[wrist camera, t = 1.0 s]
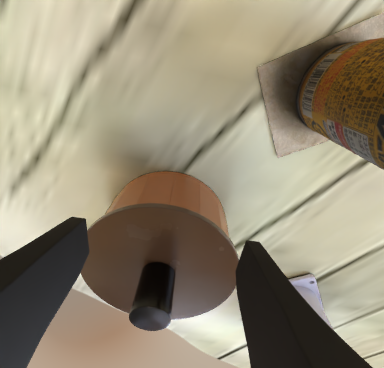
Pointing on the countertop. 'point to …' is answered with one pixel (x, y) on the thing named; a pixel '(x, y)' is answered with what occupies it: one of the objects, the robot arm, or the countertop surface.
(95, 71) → the countertop surface
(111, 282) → the pot lid
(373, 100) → the condiment
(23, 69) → the countertop surface
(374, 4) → the countertop surface
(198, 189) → the terracotta bowl
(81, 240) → the robot arm
